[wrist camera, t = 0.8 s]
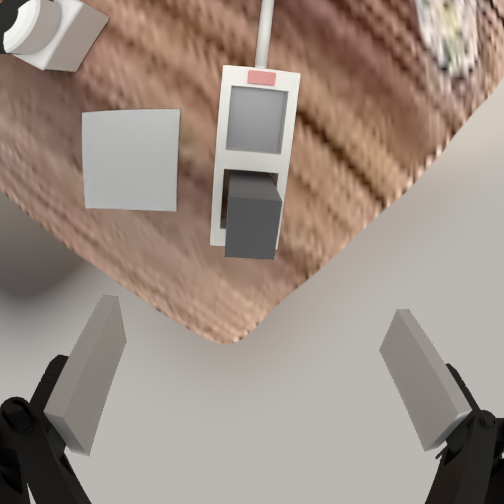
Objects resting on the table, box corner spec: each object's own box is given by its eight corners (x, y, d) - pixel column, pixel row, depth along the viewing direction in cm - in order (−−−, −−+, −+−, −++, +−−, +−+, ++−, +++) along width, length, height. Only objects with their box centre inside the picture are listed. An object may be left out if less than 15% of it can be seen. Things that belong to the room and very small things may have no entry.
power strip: (233, -10, 23) (233, -22, 19) (302, -1, 23) (310, -12, 20) (211, 233, 35) (209, 248, 32) (273, 237, 36) (277, 252, 32)
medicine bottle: (36, 52, 23) (-32, 48, 12) (68, 0, 21) (8, -26, 10) (76, 73, 25) (10, 70, 15) (111, 17, 23) (57, -12, 12)
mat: (83, 112, 27) (82, 112, 27) (180, 109, 28) (180, 109, 28) (86, 206, 32) (85, 208, 32) (176, 210, 33) (176, 211, 33)
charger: (230, 168, 32) (229, 197, 23) (268, 171, 32) (282, 201, 23) (226, 213, 34) (224, 256, 25) (263, 215, 34) (273, 259, 26)
